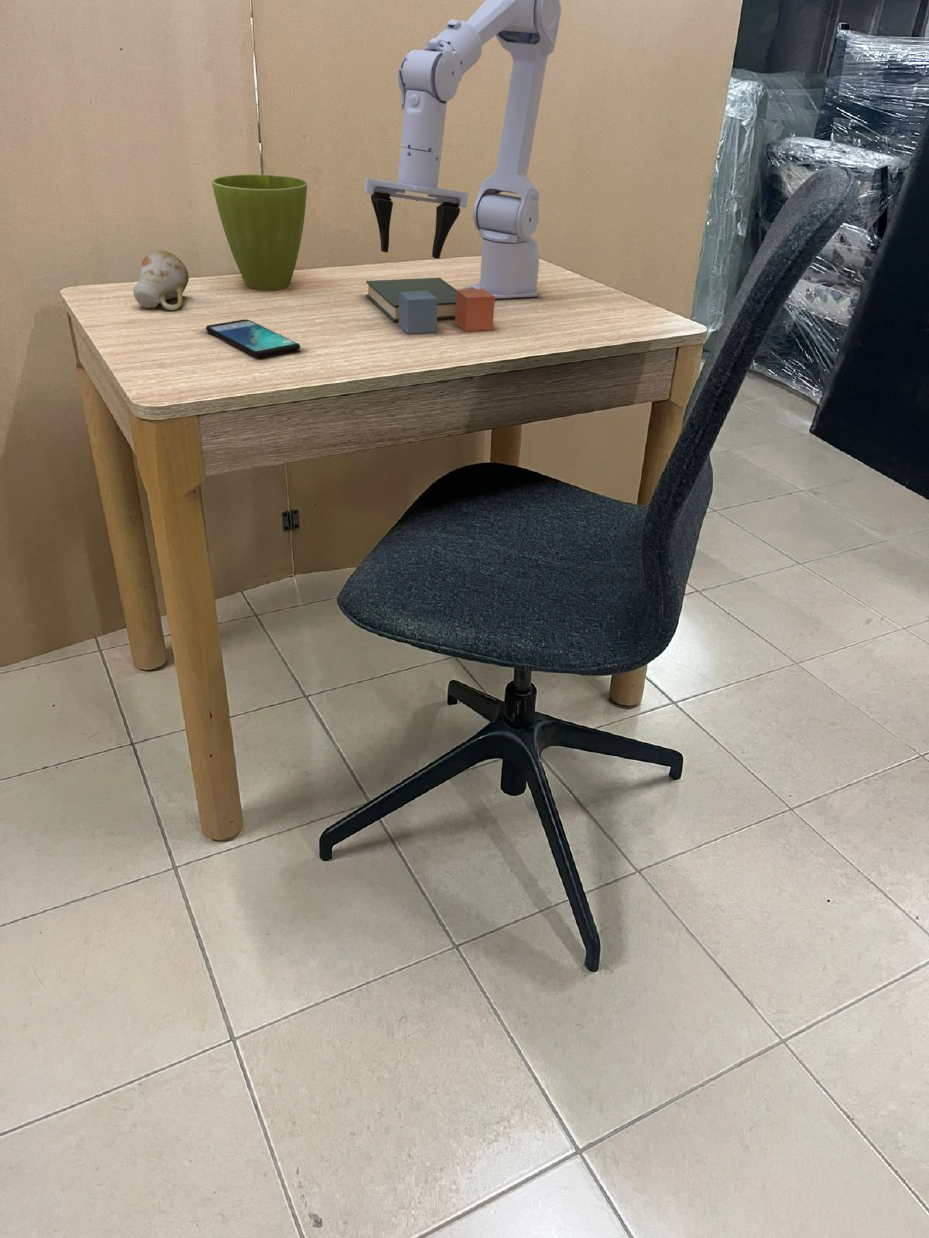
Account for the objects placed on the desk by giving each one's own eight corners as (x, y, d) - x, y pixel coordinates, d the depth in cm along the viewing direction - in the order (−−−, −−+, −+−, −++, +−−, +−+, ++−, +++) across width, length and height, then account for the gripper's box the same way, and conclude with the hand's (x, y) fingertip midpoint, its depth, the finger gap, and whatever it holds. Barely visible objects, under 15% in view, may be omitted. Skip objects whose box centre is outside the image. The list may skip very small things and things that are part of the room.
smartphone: (247, 318, 134) (302, 345, 125) (248, 323, 134) (302, 350, 125) (203, 325, 130) (256, 353, 121) (203, 331, 130) (257, 359, 121)
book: (439, 292, 155) (439, 277, 153) (471, 317, 143) (472, 301, 142) (366, 296, 150) (365, 280, 149) (393, 322, 139) (393, 305, 138)
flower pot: (203, 282, 152) (192, 178, 143) (273, 269, 162) (266, 171, 153) (260, 301, 144) (251, 192, 136) (329, 287, 154) (326, 184, 145)
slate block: (426, 323, 139) (427, 290, 136) (436, 332, 136) (437, 298, 133) (398, 325, 138) (399, 291, 135) (408, 334, 134) (408, 299, 132)
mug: (121, 311, 137) (116, 244, 136) (162, 325, 146) (157, 262, 145) (163, 304, 135) (157, 236, 134) (201, 319, 144) (196, 255, 143)
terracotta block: (481, 321, 142) (483, 288, 139) (492, 329, 138) (495, 296, 136) (454, 323, 140) (456, 290, 138) (465, 331, 137) (467, 297, 134)
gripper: (373, 143, 120) (365, 252, 126) (477, 159, 124) (464, 264, 130) (366, 142, 126) (358, 246, 132) (465, 158, 130) (453, 258, 136)
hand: (410, 254), depth 132 cm, fingers open, 7 cm apart
